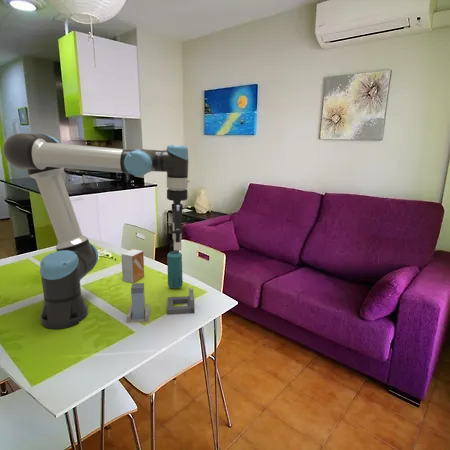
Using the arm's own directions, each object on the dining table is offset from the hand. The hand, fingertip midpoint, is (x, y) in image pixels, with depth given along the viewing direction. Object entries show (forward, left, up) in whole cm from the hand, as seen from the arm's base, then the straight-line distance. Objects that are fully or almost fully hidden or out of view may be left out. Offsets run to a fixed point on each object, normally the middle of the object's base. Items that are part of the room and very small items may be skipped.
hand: (176, 244), depth 122 cm
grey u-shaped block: (-14, -10, -24) cm, 30 cm away
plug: (-14, -10, -24) cm, 29 cm away
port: (+1, -5, -24) cm, 25 cm away
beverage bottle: (-1, +13, -24) cm, 28 cm away
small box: (-20, +25, -24) cm, 40 cm away
